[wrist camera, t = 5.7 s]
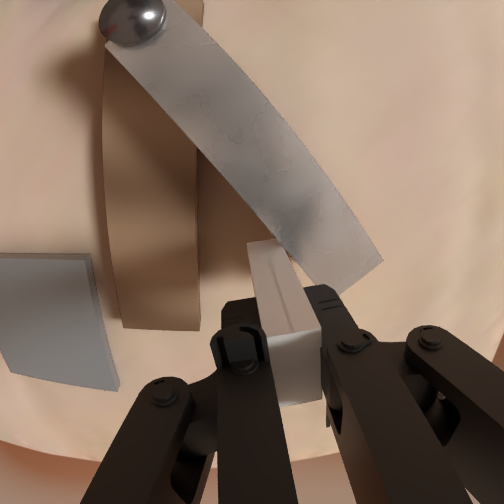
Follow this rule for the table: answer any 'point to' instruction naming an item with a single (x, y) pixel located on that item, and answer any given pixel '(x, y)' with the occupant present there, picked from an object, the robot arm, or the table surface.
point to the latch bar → (240, 137)
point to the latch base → (150, 202)
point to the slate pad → (54, 320)
